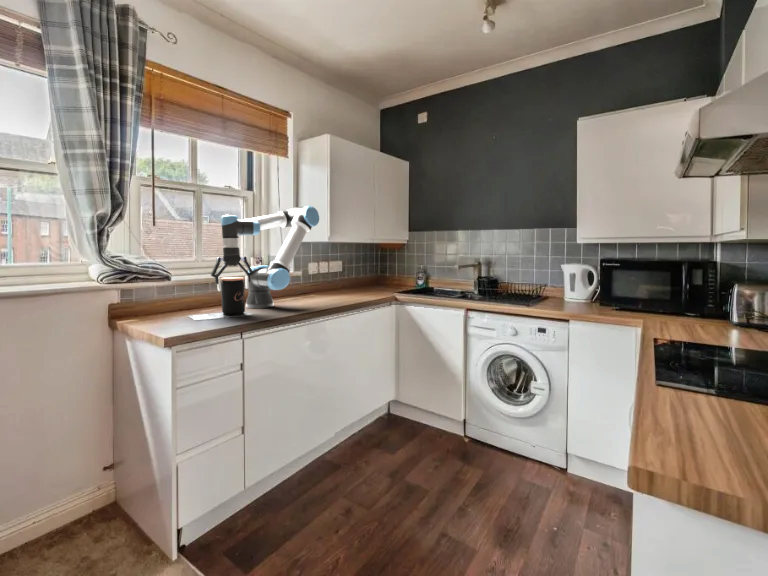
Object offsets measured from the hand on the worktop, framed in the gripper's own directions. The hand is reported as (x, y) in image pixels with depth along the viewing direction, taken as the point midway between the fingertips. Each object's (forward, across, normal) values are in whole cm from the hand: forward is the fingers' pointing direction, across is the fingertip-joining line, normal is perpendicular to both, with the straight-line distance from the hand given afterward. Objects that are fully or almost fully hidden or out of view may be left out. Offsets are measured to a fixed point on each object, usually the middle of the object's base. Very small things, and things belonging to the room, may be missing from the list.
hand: (233, 289), depth 194 cm
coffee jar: (+12, +1, 0) cm, 12 cm away
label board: (+12, +7, 0) cm, 14 cm away
